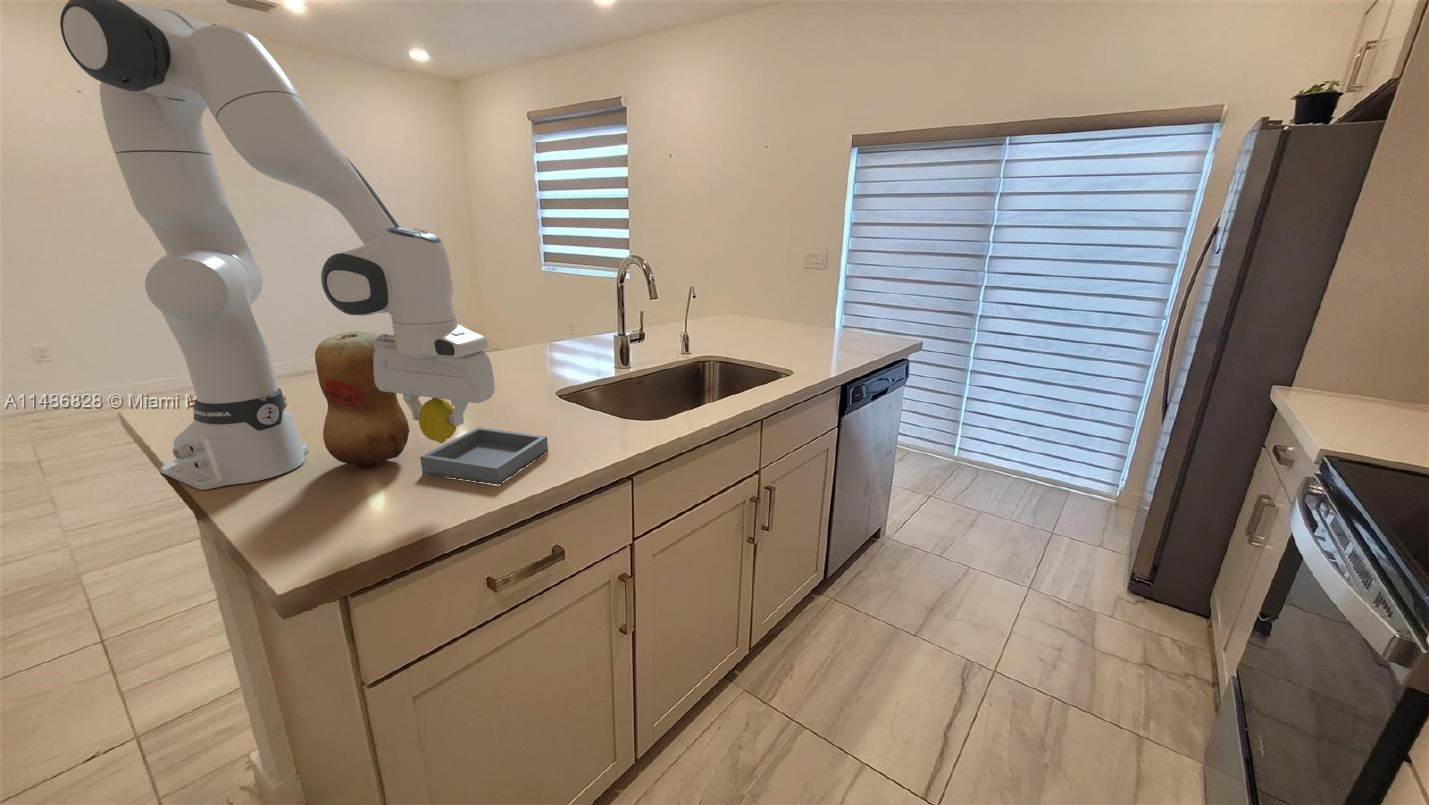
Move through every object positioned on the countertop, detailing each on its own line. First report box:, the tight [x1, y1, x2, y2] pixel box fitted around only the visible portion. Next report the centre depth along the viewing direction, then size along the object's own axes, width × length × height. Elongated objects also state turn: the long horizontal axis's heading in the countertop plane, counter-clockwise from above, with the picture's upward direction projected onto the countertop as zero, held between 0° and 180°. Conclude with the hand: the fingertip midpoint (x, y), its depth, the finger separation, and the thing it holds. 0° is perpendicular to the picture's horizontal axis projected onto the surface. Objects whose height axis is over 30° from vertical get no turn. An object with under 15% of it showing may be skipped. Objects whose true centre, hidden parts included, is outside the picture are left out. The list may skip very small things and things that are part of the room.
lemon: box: [418, 397, 458, 444], centre depth 90 cm, size 6×6×8 cm
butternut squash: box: [314, 330, 410, 468], centre depth 100 cm, size 14×13×25 cm
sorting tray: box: [419, 426, 549, 485], centre depth 105 cm, size 16×16×4 cm
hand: (438, 421), depth 90 cm, fingers closed on lemon, 6 cm apart
